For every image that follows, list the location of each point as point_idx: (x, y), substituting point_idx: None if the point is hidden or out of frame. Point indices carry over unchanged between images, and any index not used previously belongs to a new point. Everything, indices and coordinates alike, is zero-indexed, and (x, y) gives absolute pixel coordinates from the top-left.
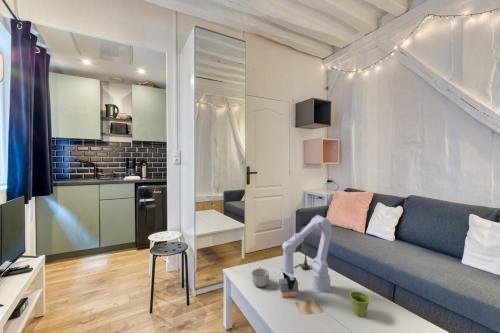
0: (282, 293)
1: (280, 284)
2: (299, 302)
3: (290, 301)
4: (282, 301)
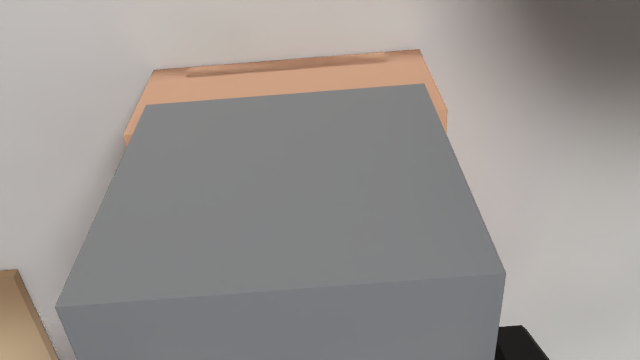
0: (136, 123)
1: (214, 225)
2: (18, 340)
3: (45, 205)
4: (15, 41)
